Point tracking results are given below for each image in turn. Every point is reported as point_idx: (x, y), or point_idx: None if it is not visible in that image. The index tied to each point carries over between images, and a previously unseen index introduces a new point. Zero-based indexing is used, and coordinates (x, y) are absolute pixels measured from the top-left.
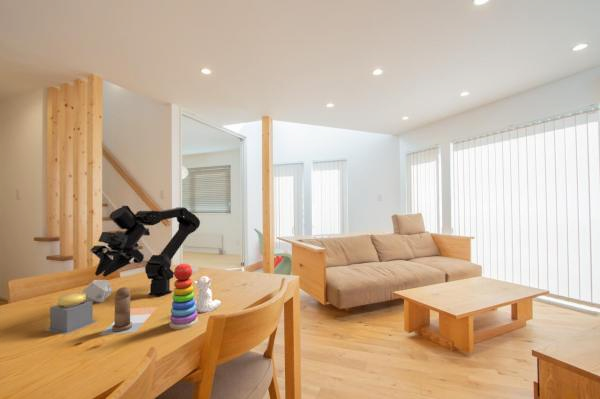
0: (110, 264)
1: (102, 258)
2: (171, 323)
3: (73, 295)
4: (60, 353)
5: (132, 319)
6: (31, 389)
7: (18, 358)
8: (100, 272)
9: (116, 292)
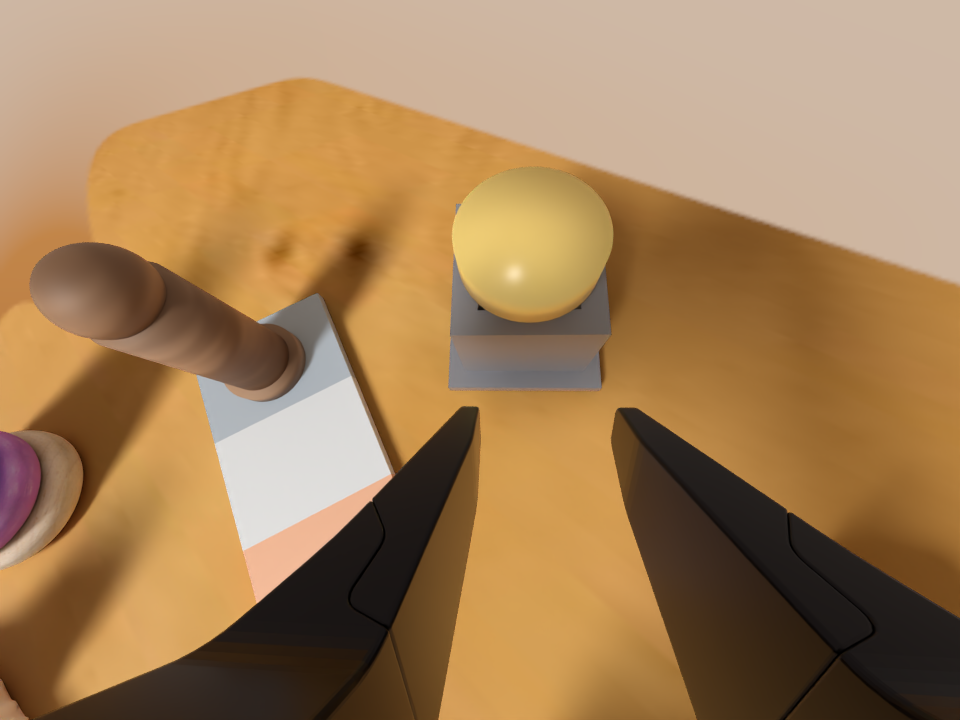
0: (396, 516)
1: (949, 691)
2: (39, 442)
3: (532, 238)
4: (353, 195)
5: (294, 455)
6: (261, 95)
7: (448, 143)
8: (625, 482)
9: (107, 244)
